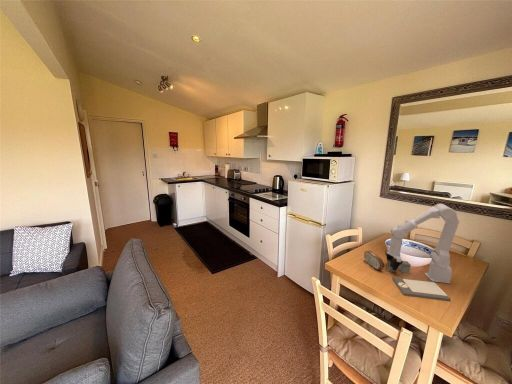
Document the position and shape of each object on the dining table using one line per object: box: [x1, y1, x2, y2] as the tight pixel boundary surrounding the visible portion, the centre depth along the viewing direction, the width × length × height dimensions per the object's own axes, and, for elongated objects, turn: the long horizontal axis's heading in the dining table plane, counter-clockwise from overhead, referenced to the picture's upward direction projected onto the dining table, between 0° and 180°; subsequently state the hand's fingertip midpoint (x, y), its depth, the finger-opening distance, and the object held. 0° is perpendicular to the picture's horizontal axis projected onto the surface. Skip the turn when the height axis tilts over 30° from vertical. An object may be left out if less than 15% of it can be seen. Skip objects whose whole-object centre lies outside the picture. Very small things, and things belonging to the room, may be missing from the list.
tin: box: [363, 250, 385, 271], centre depth 136 cm, size 15×3×8 cm, turn 10°
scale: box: [391, 276, 451, 302], centre depth 115 cm, size 21×14×2 cm, turn 79°
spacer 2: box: [398, 260, 412, 275], centre depth 131 cm, size 4×4×6 cm
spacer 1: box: [386, 260, 398, 273], centre depth 132 cm, size 4×4×6 cm
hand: (391, 266), depth 132 cm, fingers open, 7 cm apart
